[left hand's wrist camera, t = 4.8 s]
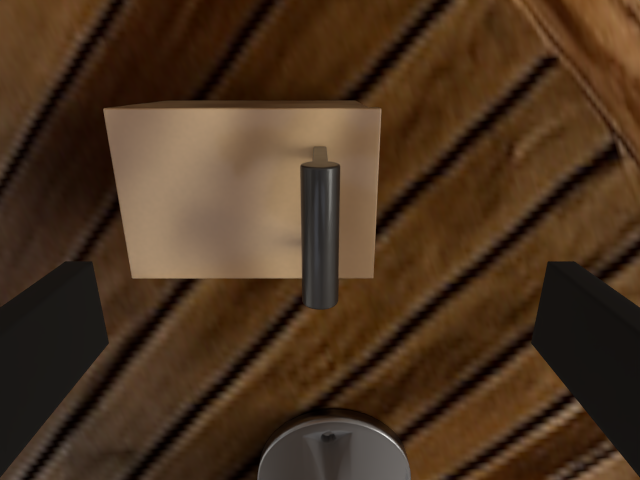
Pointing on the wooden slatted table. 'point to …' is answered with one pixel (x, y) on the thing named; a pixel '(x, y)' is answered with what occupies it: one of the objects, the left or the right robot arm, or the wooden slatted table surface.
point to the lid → (249, 192)
